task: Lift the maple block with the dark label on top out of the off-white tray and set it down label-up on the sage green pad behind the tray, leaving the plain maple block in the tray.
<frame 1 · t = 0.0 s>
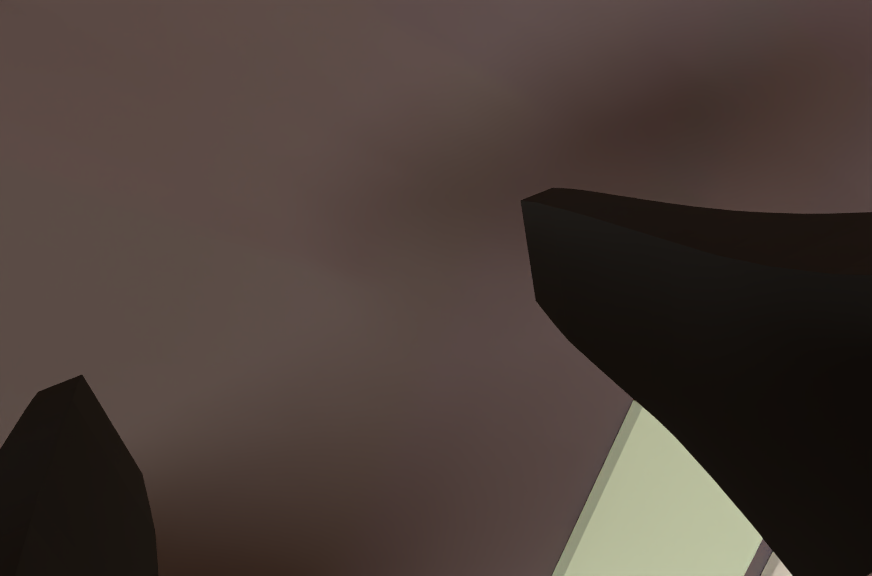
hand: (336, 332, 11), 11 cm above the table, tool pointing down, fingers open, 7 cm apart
pad: (660, 548, 31), on the table
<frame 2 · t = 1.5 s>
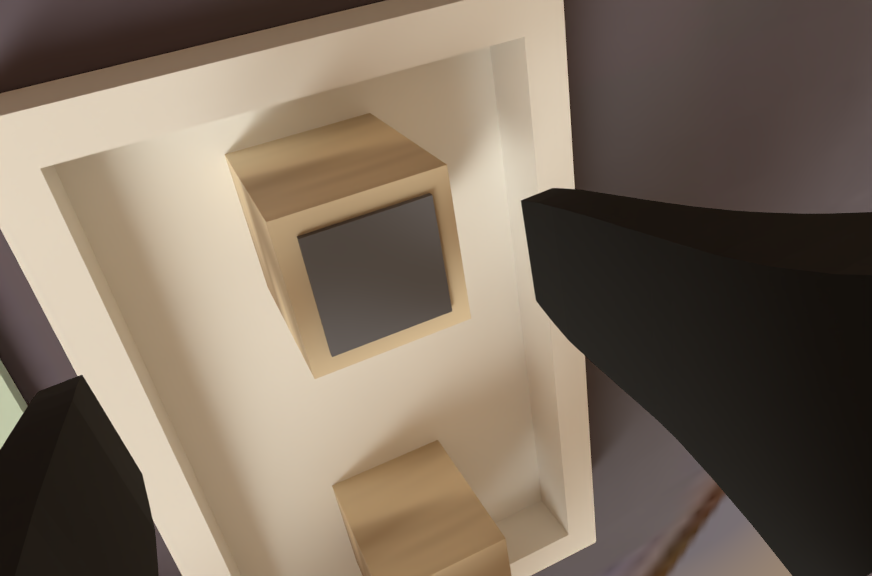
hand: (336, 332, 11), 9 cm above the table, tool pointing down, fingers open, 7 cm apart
tray: (357, 364, 23), on the table
labelled block: (317, 202, 20), resting on tray
plain block: (396, 501, 26), resting on tray
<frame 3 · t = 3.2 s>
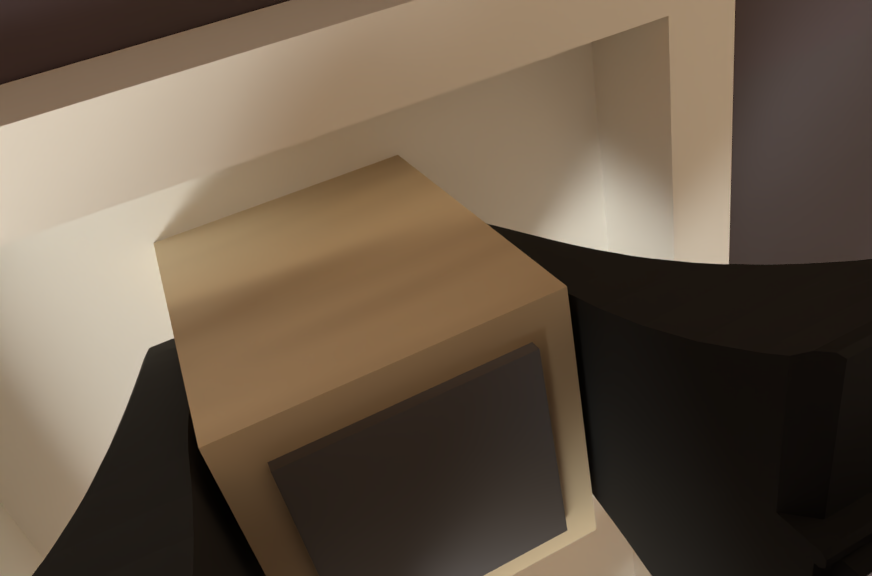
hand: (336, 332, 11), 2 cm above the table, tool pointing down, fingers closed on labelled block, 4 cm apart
tray: (389, 512, 16), on the table
labelled block: (317, 301, 12), resting on tray, touching gripper
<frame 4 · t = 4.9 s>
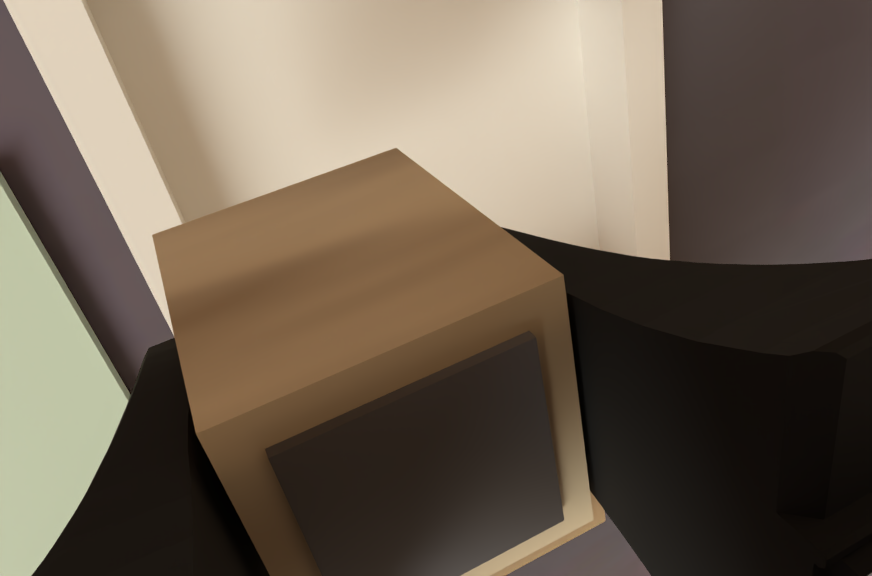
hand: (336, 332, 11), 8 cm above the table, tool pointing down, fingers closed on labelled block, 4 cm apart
tray: (420, 249, 21), on the table
labelled block: (315, 294, 12), point 7 cm above the table, touching gripper
plain block: (463, 406, 24), resting on tray
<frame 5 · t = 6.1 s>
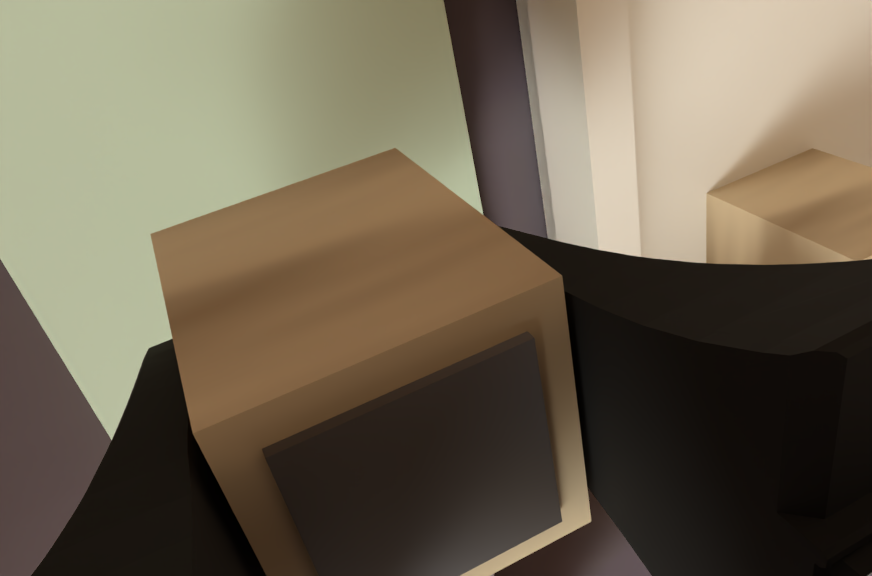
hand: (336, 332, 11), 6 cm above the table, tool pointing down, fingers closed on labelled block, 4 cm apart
tray: (752, 30, 20), on the table
labelled block: (314, 294, 12), point 5 cm above the table, touching gripper
pad: (261, 209, 16), on the table
plain block: (757, 228, 22), resting on tray
when the fingers open (3 cm above the table, at t = 7.0 s): labelled block drops 1 cm, resting on pad.
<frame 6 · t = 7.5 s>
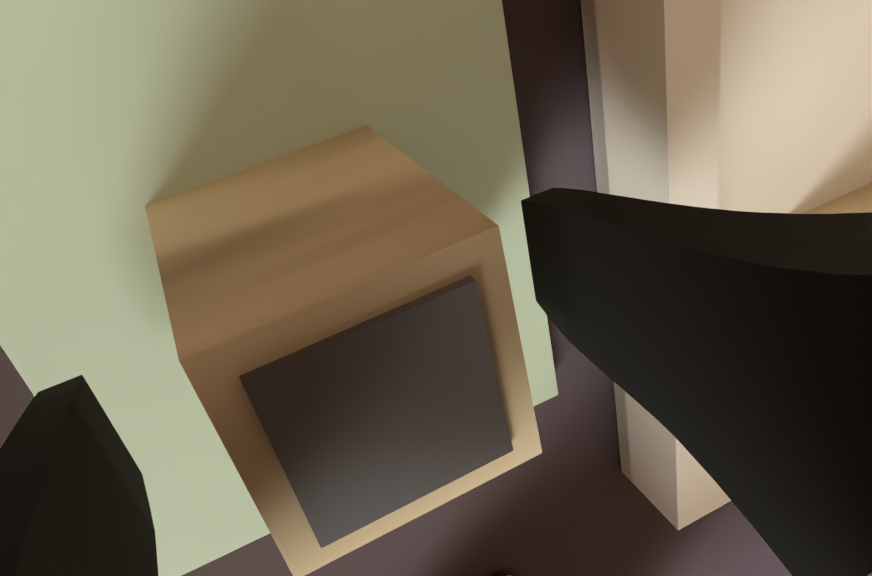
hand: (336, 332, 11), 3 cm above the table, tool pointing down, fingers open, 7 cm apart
tray: (836, 43, 17), on the table
labelled block: (296, 261, 13), point 1 cm above the table, touching pad
pad: (288, 253, 14), on the table
plain block: (829, 261, 20), resting on tray
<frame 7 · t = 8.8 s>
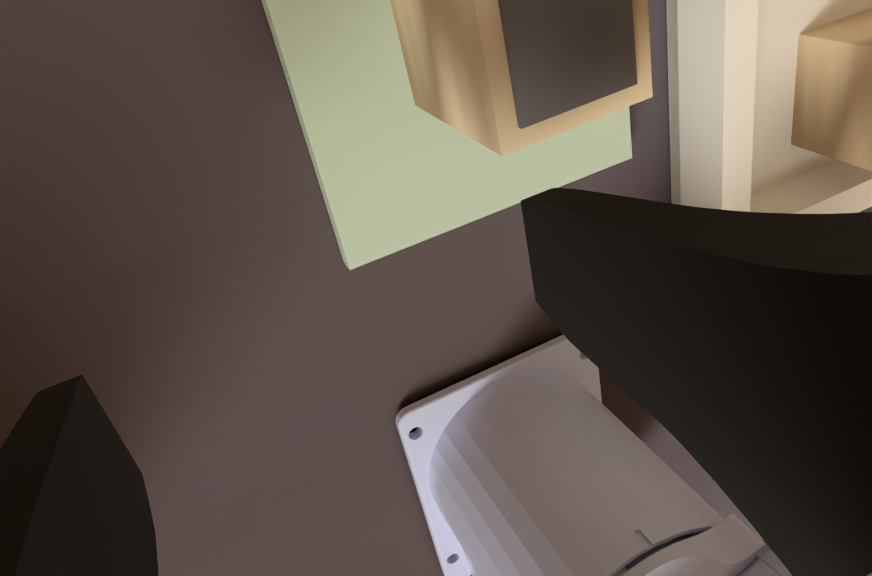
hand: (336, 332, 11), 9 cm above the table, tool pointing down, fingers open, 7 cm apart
labelled block: (465, 8, 19), point 1 cm above the table, touching pad
pad: (455, 9, 20), on the table
plain block: (837, 74, 26), resting on tray
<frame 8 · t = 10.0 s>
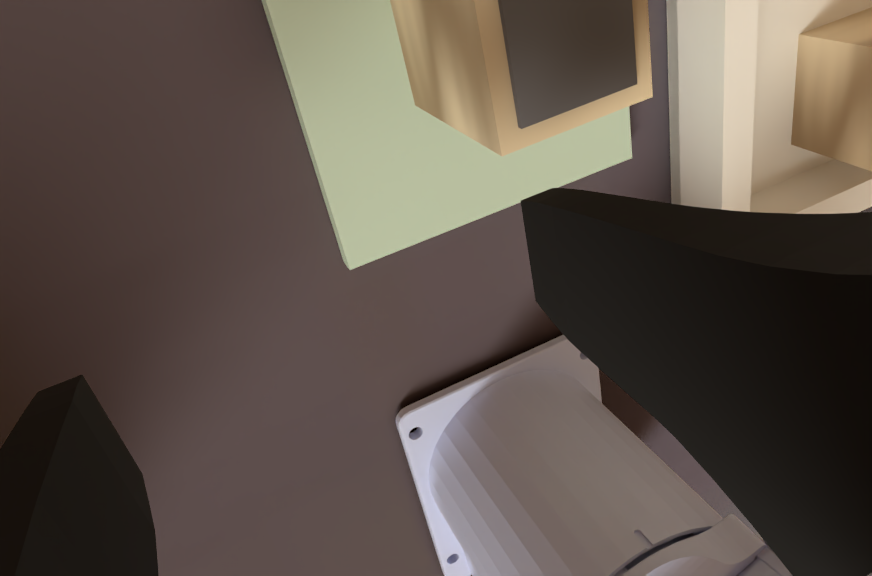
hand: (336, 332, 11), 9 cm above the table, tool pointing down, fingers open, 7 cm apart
labelled block: (465, 8, 19), point 1 cm above the table, touching pad
pad: (455, 9, 20), on the table
plain block: (837, 74, 26), resting on tray
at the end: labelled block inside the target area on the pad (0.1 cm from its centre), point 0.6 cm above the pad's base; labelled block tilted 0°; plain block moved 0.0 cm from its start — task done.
